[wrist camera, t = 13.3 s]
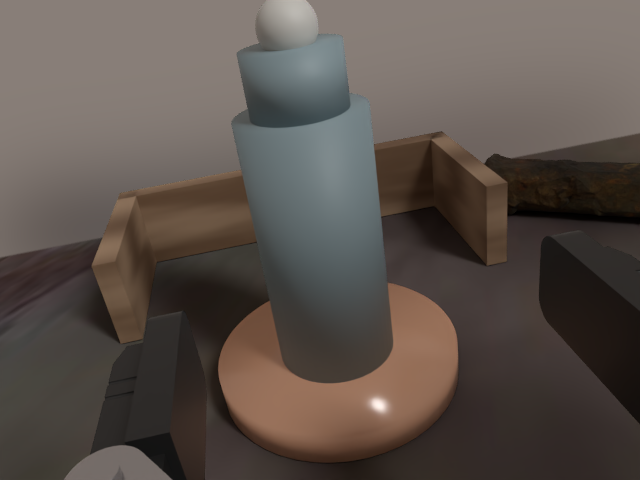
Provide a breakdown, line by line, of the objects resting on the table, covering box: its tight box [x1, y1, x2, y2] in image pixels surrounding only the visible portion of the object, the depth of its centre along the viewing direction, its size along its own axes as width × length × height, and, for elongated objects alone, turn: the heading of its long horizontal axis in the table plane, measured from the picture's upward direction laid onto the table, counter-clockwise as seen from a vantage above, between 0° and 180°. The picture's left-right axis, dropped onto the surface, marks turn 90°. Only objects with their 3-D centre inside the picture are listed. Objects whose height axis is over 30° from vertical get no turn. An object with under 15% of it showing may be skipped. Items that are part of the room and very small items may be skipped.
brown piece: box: [485, 154, 640, 218], centre depth 35 cm, size 19×4×5 cm, turn 61°
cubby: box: [92, 132, 508, 344], centre depth 36 cm, size 10×22×5 cm, turn 100°
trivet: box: [218, 283, 459, 463], centre depth 27 cm, size 11×11×2 cm
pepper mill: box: [231, 0, 393, 383], centre depth 23 cm, size 5×5×15 cm
